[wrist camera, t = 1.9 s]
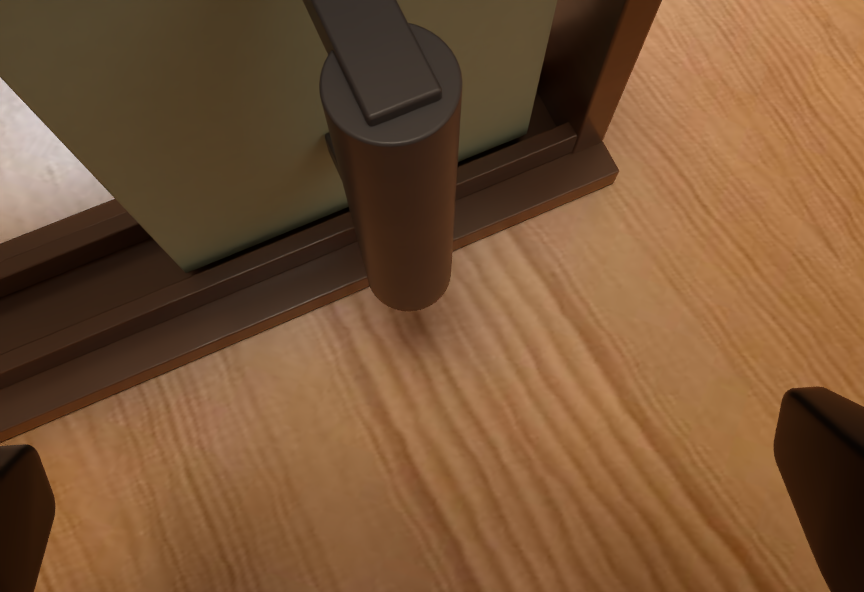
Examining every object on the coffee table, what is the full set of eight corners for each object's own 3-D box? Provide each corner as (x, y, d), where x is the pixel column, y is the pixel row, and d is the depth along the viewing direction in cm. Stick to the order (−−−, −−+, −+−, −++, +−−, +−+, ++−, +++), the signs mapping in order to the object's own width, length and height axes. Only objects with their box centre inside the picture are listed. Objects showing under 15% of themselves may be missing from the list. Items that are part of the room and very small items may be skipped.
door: (601, 271, 21) (808, -59, 9) (243, 427, 20) (-30, 272, 8) (508, 99, 22) (587, -369, 11) (171, 235, 21) (-146, -127, 10)
